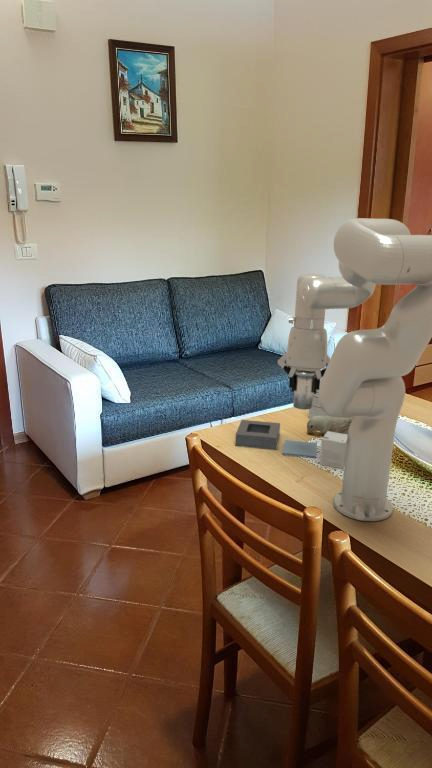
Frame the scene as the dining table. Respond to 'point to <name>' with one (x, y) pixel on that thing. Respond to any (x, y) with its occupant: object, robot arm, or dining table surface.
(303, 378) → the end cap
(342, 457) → the skincare box
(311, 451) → the mat
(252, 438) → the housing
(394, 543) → the dining table surface
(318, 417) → the decorative bird
